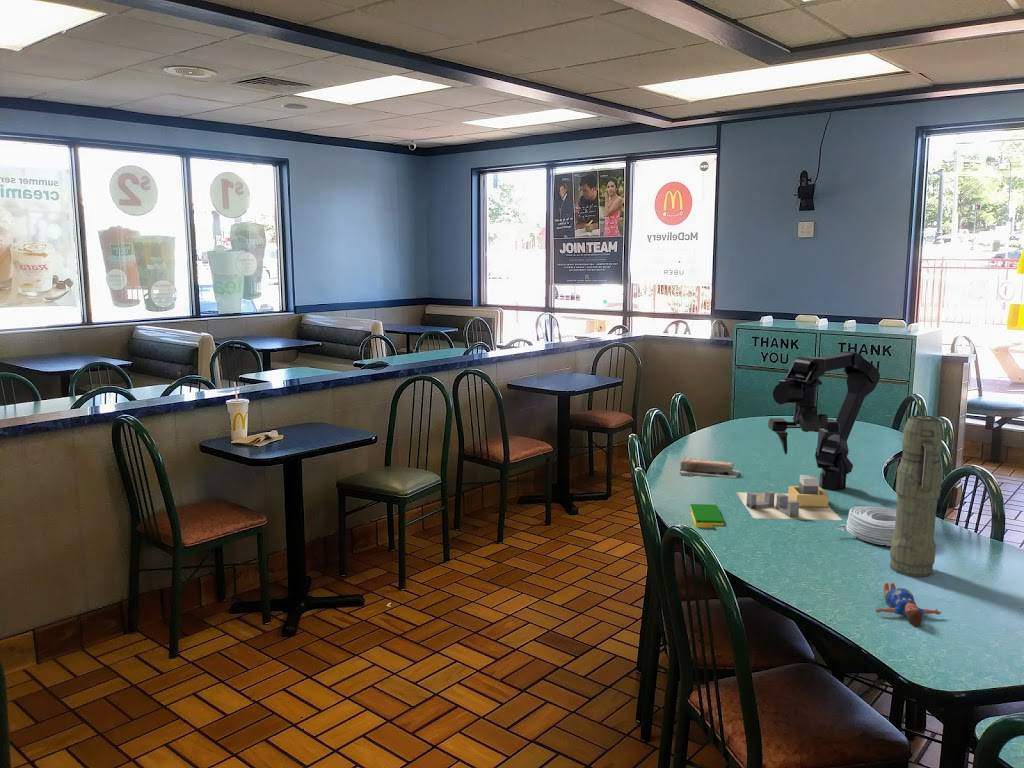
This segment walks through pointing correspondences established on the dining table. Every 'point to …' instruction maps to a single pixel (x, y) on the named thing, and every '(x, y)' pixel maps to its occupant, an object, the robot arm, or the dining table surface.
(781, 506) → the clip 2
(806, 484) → the connector plug
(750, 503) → the clip
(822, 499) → the end holder
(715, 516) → the dish sponge
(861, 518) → the cable
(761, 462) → the dining table surface
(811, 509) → the board
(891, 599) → the toy character
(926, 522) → the thermos
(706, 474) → the packaged product
